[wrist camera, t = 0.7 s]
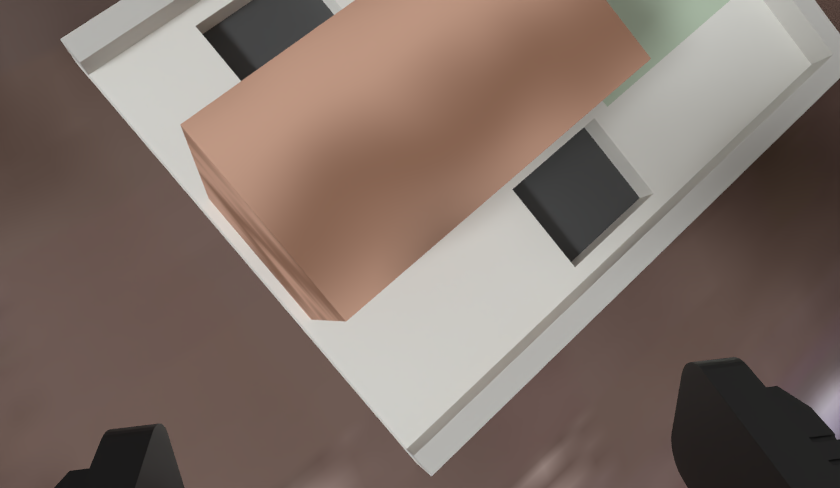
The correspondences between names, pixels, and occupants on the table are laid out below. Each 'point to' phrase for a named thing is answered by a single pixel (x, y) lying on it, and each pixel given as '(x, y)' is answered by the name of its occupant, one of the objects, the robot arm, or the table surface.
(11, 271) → the table surface
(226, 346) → the table surface
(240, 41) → the box
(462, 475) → the table surface
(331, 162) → the terracotta block
